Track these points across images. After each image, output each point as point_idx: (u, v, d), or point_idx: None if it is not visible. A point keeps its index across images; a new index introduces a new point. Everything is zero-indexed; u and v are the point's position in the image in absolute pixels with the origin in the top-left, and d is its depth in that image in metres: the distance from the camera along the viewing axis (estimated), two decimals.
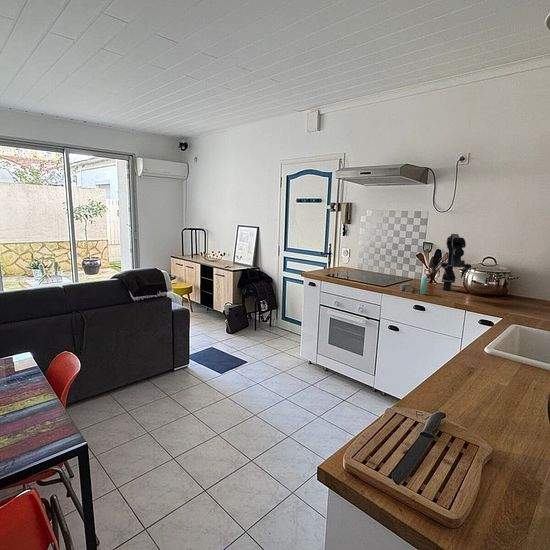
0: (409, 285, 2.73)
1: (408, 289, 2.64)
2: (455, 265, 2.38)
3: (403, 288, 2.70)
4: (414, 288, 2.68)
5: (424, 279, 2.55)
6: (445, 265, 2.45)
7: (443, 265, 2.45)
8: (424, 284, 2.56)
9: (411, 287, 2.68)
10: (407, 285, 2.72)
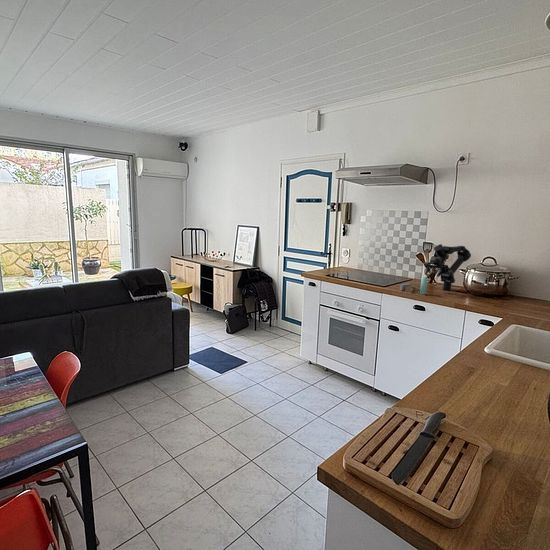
0: (409, 285, 2.73)
1: (408, 289, 2.64)
2: (431, 258, 2.60)
3: (403, 288, 2.70)
4: (414, 288, 2.68)
5: (424, 279, 2.55)
6: (426, 263, 2.67)
7: (425, 262, 2.68)
8: (424, 284, 2.56)
9: (411, 287, 2.68)
10: (407, 285, 2.72)
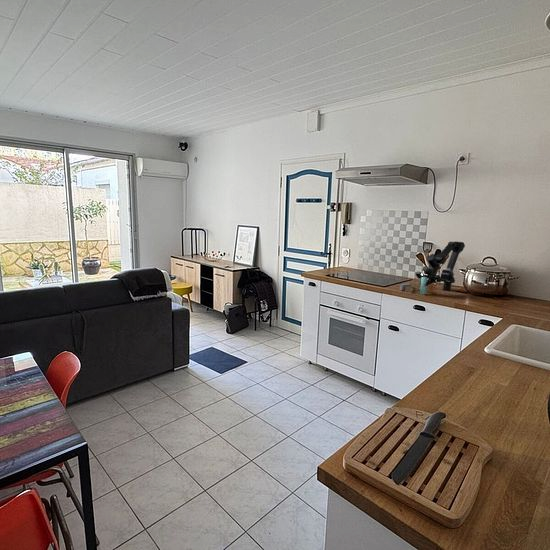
0: (409, 285, 2.73)
1: (408, 289, 2.64)
2: (423, 268, 2.57)
3: (403, 288, 2.70)
4: (414, 288, 2.68)
5: (424, 279, 2.55)
6: (418, 272, 2.63)
7: (417, 272, 2.64)
8: (424, 284, 2.56)
9: (411, 287, 2.68)
10: (407, 285, 2.72)
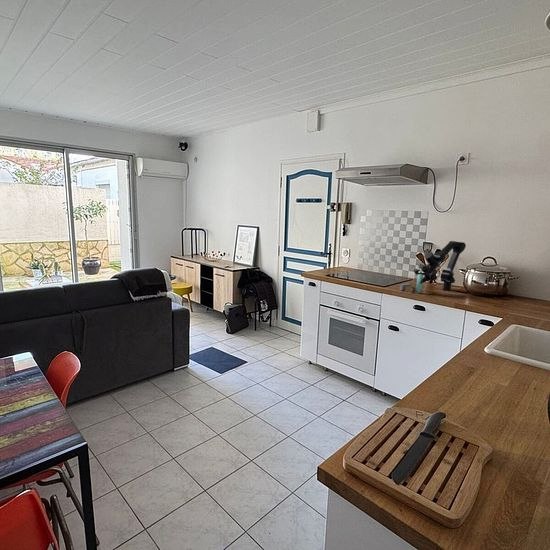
0: (409, 285, 2.73)
1: (408, 289, 2.64)
2: (419, 265, 2.60)
3: (403, 288, 2.70)
4: (414, 288, 2.68)
5: (419, 276, 2.58)
6: (416, 270, 2.66)
7: (415, 269, 2.68)
8: (419, 281, 2.59)
9: (411, 287, 2.68)
10: (407, 285, 2.72)
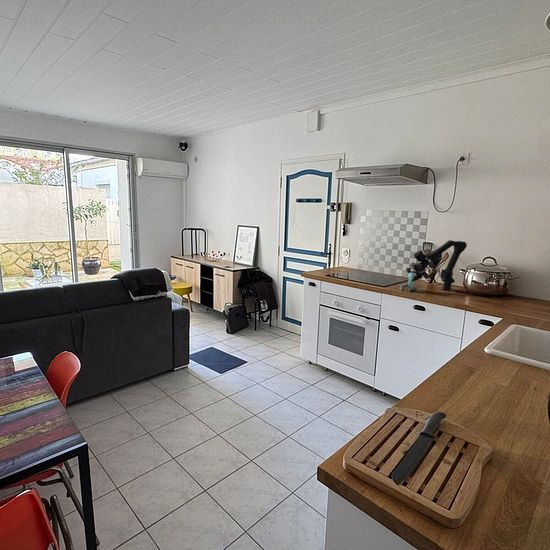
0: None
1: (406, 288, 2.66)
2: (411, 264, 2.66)
3: None
4: None
5: (411, 275, 2.65)
6: (408, 268, 2.72)
7: (407, 268, 2.74)
8: (411, 279, 2.65)
9: None
10: (407, 285, 2.72)
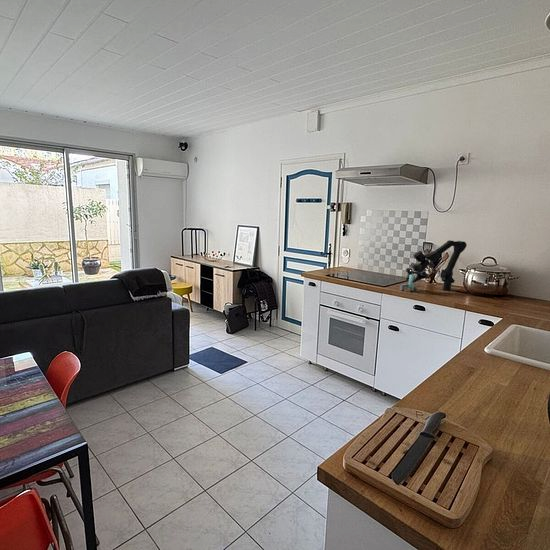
0: None
1: (406, 288, 2.66)
2: (411, 264, 2.66)
3: None
4: None
5: (411, 276, 2.64)
6: (408, 268, 2.73)
7: (407, 268, 2.74)
8: (411, 281, 2.65)
9: None
10: (407, 285, 2.72)
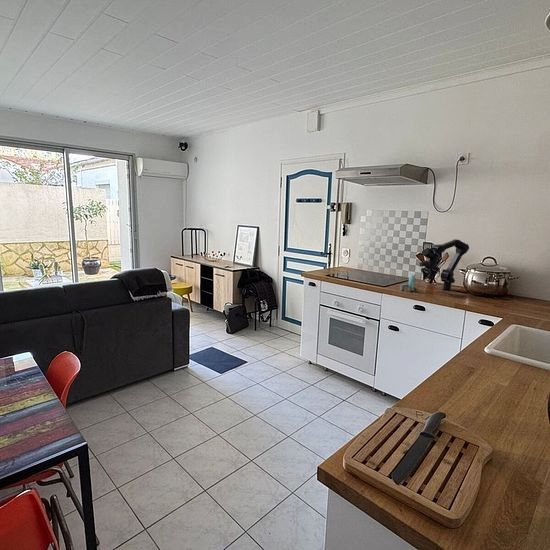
0: None
1: (406, 288, 2.66)
2: None
3: None
4: None
5: (411, 277, 2.64)
6: (422, 269, 2.71)
7: (421, 269, 2.72)
8: (411, 281, 2.65)
9: None
10: (407, 285, 2.72)
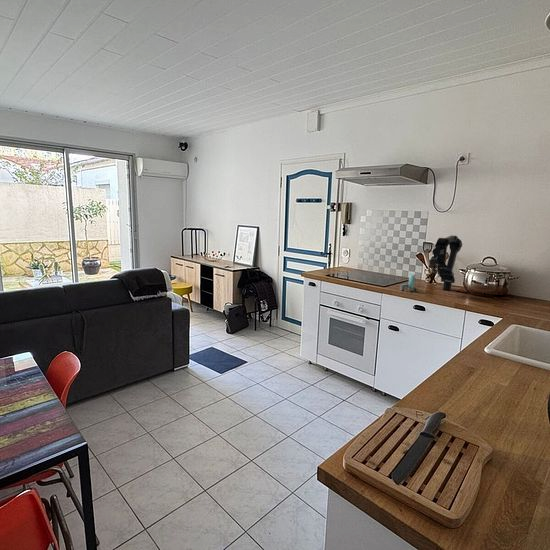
0: None
1: (406, 288, 2.66)
2: None
3: None
4: None
5: (411, 276, 2.64)
6: (435, 263, 2.67)
7: (435, 262, 2.69)
8: (411, 281, 2.65)
9: None
10: (407, 285, 2.72)
